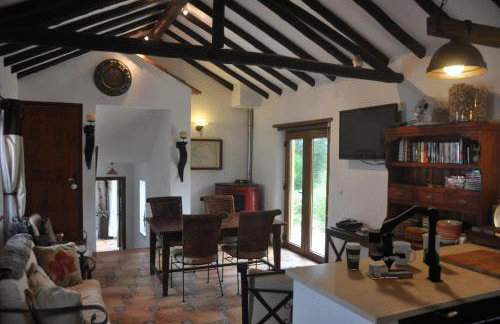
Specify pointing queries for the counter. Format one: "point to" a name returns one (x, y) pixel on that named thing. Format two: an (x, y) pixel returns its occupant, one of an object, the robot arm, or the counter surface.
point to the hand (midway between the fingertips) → (388, 271)
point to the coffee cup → (353, 255)
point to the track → (376, 272)
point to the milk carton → (437, 245)
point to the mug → (404, 248)
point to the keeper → (383, 269)
